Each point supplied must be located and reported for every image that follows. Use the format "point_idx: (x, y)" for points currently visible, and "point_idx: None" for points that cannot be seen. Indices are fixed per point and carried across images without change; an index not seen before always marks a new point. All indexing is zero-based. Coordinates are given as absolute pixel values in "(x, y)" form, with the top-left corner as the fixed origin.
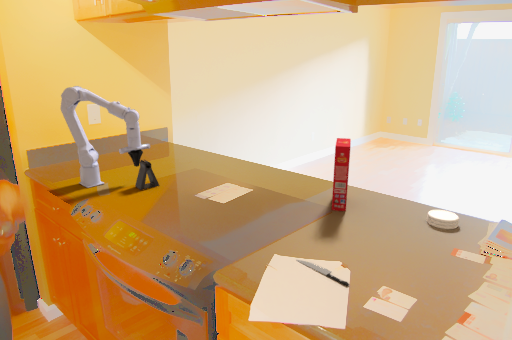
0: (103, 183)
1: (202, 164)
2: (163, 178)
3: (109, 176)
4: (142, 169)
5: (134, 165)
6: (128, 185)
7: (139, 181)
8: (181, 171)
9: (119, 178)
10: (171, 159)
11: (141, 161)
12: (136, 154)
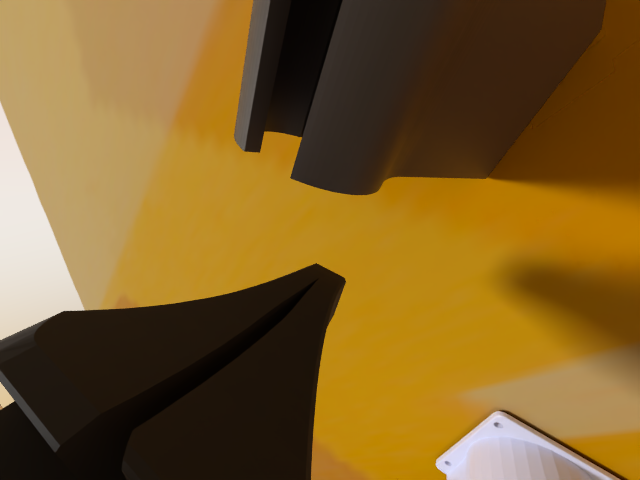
0: (507, 416)
1: (65, 116)
2: None
3: (361, 410)
4: (489, 28)
5: (332, 314)
6: (470, 250)
7: (530, 94)
8: (143, 127)
9: (365, 360)
10: (125, 271)
11: (377, 97)
12: (213, 430)
